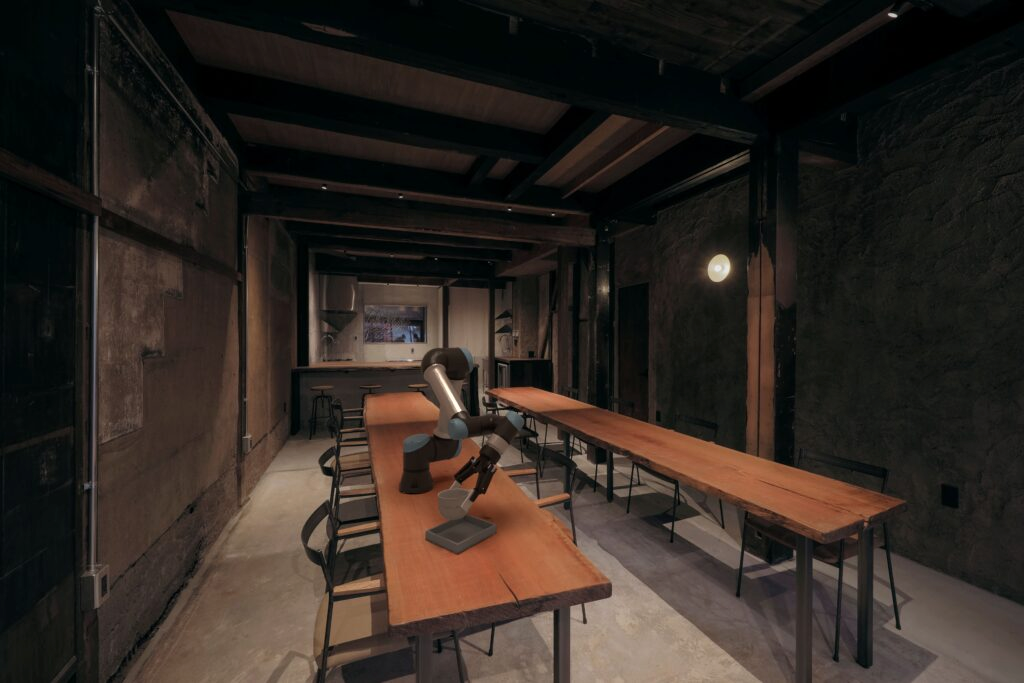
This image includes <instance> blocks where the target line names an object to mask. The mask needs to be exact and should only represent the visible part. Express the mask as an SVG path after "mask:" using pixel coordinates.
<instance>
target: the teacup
mask: <svg viewBox="0 0 1024 683" xmlns="http://www.w3.org/2000/svg"><path fill="white" fill-rule="evenodd" d="M472 489H473V488H470V489H467V488H461V487H460V488H454V489H450V488H449V489H444V490H441V491H439V492H438V493H437V506H438V507H437V508H438V513H439V515H441V516H442V517H443V518H444V519H446V520H447V521H448V520H457V519H461V518H463V517H464V516H465V515H466V514H469V511H470V508H471V507H470V508H469V509H468V511H467V512H466V511H465V510H463V509H462V508H461V507H460V506H461V505H462V503H463V502H464V501H465V499H466V498H467V496H468V495H469V494H470V492H471V491H472ZM473 490H474V489H473ZM474 491H475V490H474Z"/></svg>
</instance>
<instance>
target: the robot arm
mask: <svg viewBox="0 0 1024 683" xmlns="http://www.w3.org/2000/svg"><path fill="white" fill-rule="evenodd" d="M473 369H474V358H473V354H472V353H471V352H470V350H469V349H468V348H466V347H458V346H457V347H435V348H431V349H429V350H428V351H427V352H426V353H425V354H424V355H423V357H422V359H421V363H420V372H421V375H422V377H423V379H424V381H426V382H428V384H430V387H431V389H432V391H433V392H434V395H435V396H436V398H437V400H438V402H439V412H438V420H437V427H436V428H434V429H433V433H432V436H431V435H429V434H427V433H417V434H412V435H410V436H408V437H406V438H405V439H404V440H403V443H402V475H401V478H400V481H399V484H398V489H399V490H400V491H402V492H405V493H404V494H406V493H420V494H423V493H422V492H425V493H427V492H426V491H428V492H430V491H432V490H433V489H434V488H435V486H434V480H433V476H432V473H431V471H430V469H431V468H430V464H431V463H436V462H441V461H450V460H452V459H455V458H457V457H458V456H460V454H461V452H462V449H463V442H462V440H466V439H472V438H478V437H484V436H485V437H486V436H489V437H488V438H487V440H486V441H485V444H483V445H482V447H481V448H480V449H479V452H478V454H479V456H478V457H477V458H476V457H475V456H474V455H473V456H472V455H471V457H470V459H469V460H468V461H467V462H466V463H465V464H464V465H463V466H462V467H461V468H460V469H459V470H458V471H457V472H455V474H454V475H453V477H454V481H453V483H452V484H451V485H450V487H449V489H454V488H461V487H462V485H463V483H464V482H465V481H466V480H467V479H469V478H471V477H472V476H473V475H475V474H477V473H478V474H477V479H476V483H475V487H473V488H471V489H472V491H471V492H470V494H469V495H468V496H467V498H466V499H465V501H464V502H463V503H462V505H461V506H460V507H461V508H462V509H463V510H465V511H466V512H467V511H468V509H469V508H471V506H472V505H473V503H475V501H476V500H477V498H478V497H479V496H480V495H485V494H486V493H487V491H488V488H489V486H490V484H491V482H492V480H493V477H494V475H495V473H496V472H497V471H498V468H497V467H496V465H497V464H498V463H499V461H500V459H502V456H504V454H505V453H506V451H507V450H508V448H509V446H511V444H512V442H513V441H514V439H516V437H517V436H518V434H519V432H521V430H522V428H523V426H524V425H525V419H524V418H523V417H522V416H521V415H520V414H519V413H517V412H515V411H514V410H509V411H507V413H505V416H504V415H499V414H496V413H492V412H491V413H489V412H485V413H483V414H482V415H478V416H477V415H476V416H471V415H470V414H469V411H468V410H467V409H466V407H465V405H464V403H463V402H462V399H461V395H462V388H463V387H462V386H463V382H464V381H466V380H467V377H468V376H467V375H468V374H470V373H472V371H473ZM432 488H433V489H432ZM431 489H432V490H431ZM473 489H474V490H475V491H474V490H473ZM399 490H398V491H399ZM429 490H430V491H429ZM400 491H399V492H400ZM402 492H401V493H402ZM469 510H470V509H469ZM468 512H469V511H468Z"/></svg>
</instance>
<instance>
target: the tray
mask: <svg viewBox="0 0 1024 683" xmlns="http://www.w3.org/2000/svg"><path fill="white" fill-rule="evenodd" d="M495 533H496V534H497V523H496V524H495V523H494V522H491V521H489V520H485V519H482V518H480V517H477V516H474V515H471V514H469V513H467V514H466V515H465V516H464V517H463V518H461V519H457V520H448V519H447V520H446V521H443V522H442V523H439V524H437V525H435V526H433V527H431V528H428V529H426V530H425V532H424V534H425V535H424V536H425V538H424V539H425V541H427V542H429V543H431V544H434V545H436V546H438V547H440V548H442V549H444V550H447V551H449V552H451V553H453V554H456V555H460V554H461V553H463V552H465V551H467V550H469V549H470V547H471V546H472V547H474V546H476V545H478V544H479V542H480V541H481V542H483V541H485V540H486V538H487V539H489V538H490V536H491V537H492V536H494V535H496V534H495ZM493 534H494V535H493ZM488 537H489V538H488ZM484 539H485V540H484ZM482 540H483V541H482ZM481 542H480V543H481ZM477 543H478V544H477ZM475 544H476V545H475ZM473 545H474V546H473ZM472 547H471V548H472ZM468 548H469V549H468ZM466 549H467V550H466Z"/></svg>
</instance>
